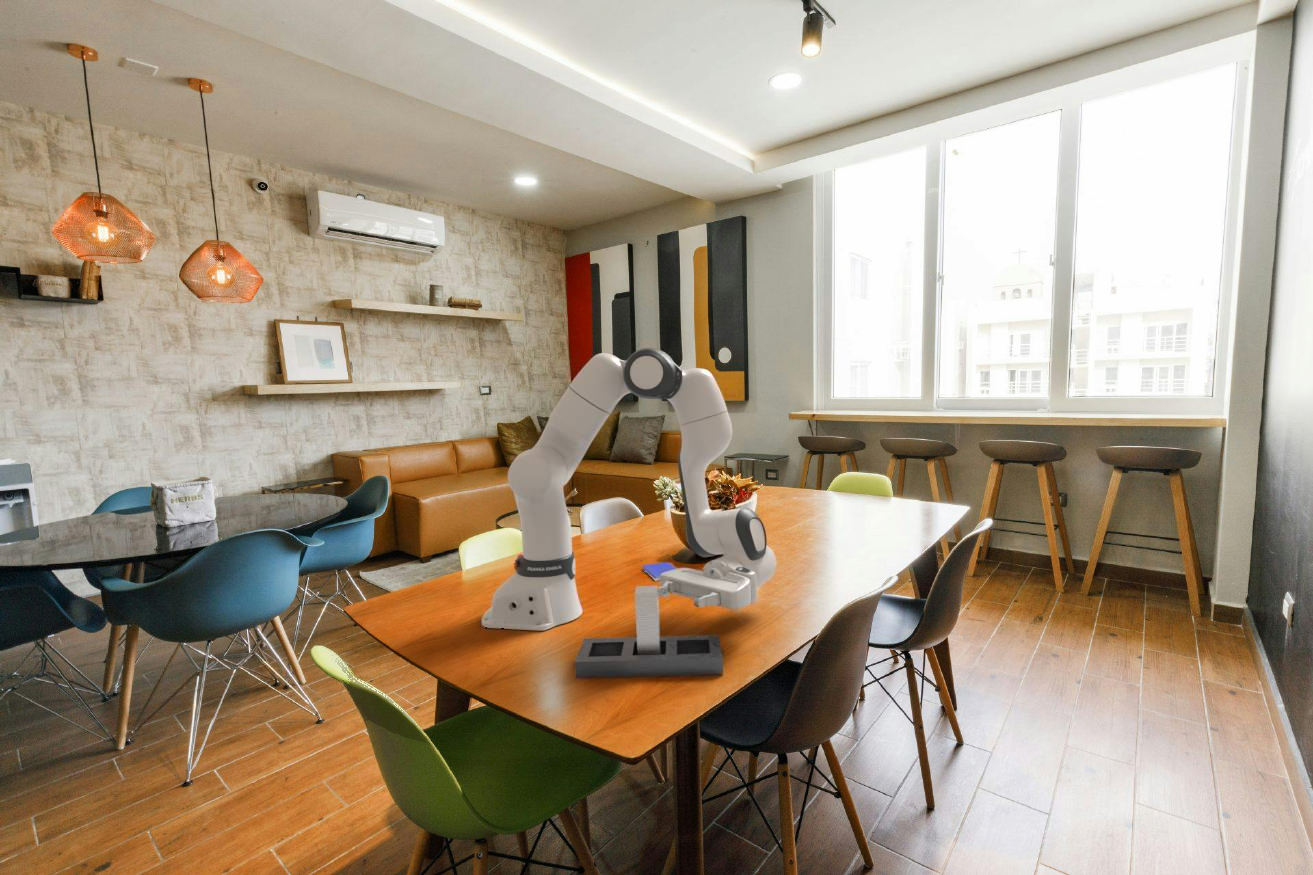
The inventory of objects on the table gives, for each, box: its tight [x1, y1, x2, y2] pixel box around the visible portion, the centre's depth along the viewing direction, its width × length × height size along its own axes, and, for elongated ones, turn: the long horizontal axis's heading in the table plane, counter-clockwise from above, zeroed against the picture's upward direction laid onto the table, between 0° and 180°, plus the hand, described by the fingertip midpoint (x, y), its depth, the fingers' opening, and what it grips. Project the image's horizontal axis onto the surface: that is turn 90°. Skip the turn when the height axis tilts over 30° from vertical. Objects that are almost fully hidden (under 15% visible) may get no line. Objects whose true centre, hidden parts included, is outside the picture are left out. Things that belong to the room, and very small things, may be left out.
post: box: [634, 585, 661, 655], centre depth 108 cm, size 4×4×14 cm
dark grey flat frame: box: [574, 634, 724, 679], centre depth 109 cm, size 26×10×3 cm, turn 88°
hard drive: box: [641, 561, 677, 582], centre depth 164 cm, size 2×8×12 cm
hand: (678, 598), depth 114 cm, fingers open, 8 cm apart
